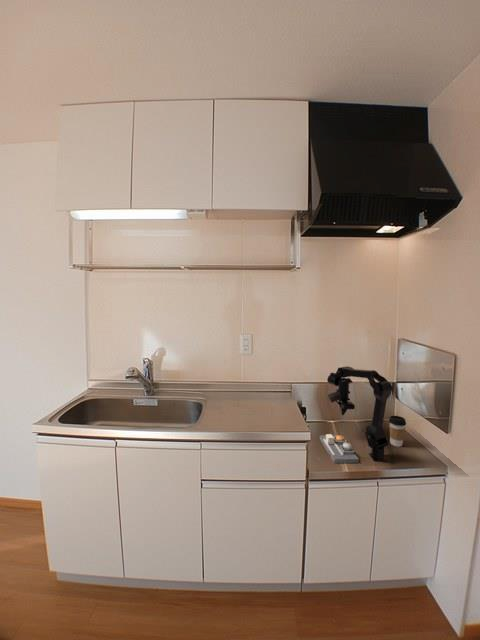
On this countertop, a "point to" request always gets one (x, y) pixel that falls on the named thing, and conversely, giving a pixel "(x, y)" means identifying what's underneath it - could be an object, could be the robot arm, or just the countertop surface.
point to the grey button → (347, 446)
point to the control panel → (339, 451)
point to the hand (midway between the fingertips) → (342, 415)
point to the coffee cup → (397, 430)
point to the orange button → (339, 438)
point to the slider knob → (329, 439)
